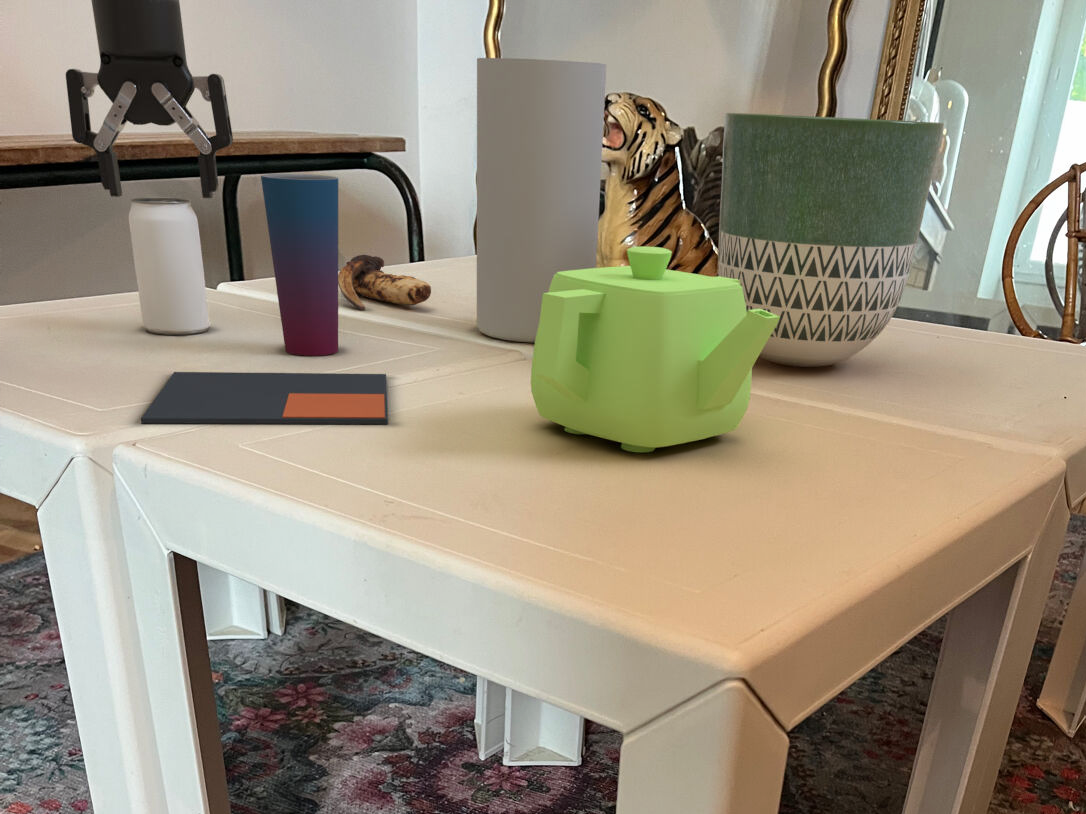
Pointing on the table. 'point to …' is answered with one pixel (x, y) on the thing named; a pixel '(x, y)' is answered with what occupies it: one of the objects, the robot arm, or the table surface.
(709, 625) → the table surface
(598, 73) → the cylinder vase
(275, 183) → the cup
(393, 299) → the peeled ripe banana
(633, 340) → the teapot
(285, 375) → the mat
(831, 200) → the planter
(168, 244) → the can
